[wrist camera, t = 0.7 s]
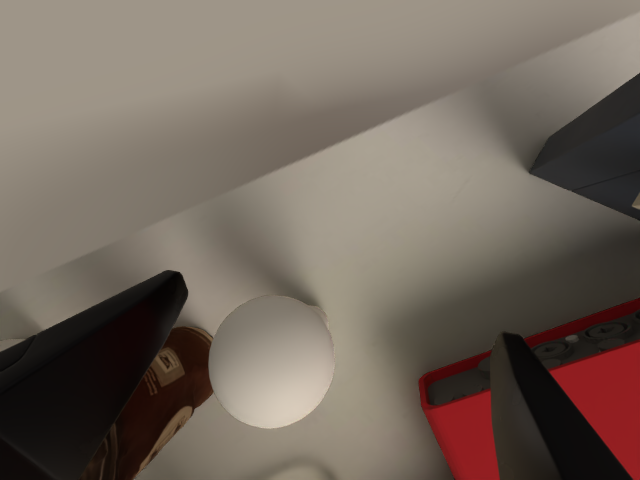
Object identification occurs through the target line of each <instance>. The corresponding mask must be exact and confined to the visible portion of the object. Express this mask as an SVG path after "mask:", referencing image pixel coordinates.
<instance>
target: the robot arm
mask: <svg viewBox="0 0 640 480" xmlns="http://www.w3.org/2000/svg"><path fill="white" fill-rule="evenodd" d="M187 297H188V289H187V287H186V284H185V281H184V279H183V276H182V274H181V273H180V272H177V271H172V270H166V271H164V272H162V273H160V274H158V275H156V276H154V277H152V278H150V279H148V280H146V281H144V282H142V283H139V284H137V285H135V286H133V287H131V288H129V289H127V290H125V291H123V292H121V293H119V294H117V295H115V296H113V297H111V298H109V299H107V300H105V301H103V302H101V303H99V304H97V305H95V306H93V307H91V308H89V309H87V310H85V311H83V312H81V313H79V314H76V315H74V316H72V317H70V318H68V319H66V320H64V321H62V322H60V323H58V324H56V325H54V326H52V327H50V328H48V329H46V330H44V331H42V332H40V333H38V334H37V335H34V336H32V337H30V338H28V339H26V340H24V341H22V342H20V343H18V344H15V345H13V346H11V347H9V348H7V349H5V350H3V351H1V352H0V480H79V479H80V477H81V476H82V474H83V472H84V471H85V469H86V468H87V466H88V464H89V463H90V461H91V460H92V458H93V456H94V455H95V453H96V452H97V450H98V448H99V447H100V445H101V444H102V442H103V440H104V439H105V437H106V436H107V434H108V432H109V431H110V429H111V428H112V426H113V424H114V423H115V421H116V420H117V418H118V417H119V415H120V413H121V412H122V410H123V409H124V407H125V405H126V404H127V402H128V401H129V399H130V397H131V396H132V394H133V393H134V391H135V389H136V388H137V386H138V385H139V383H140V381H141V380H142V378H143V377H144V375H145V373H146V372H147V370H148V369H149V367H150V366H151V364H152V362H153V361H154V359H155V358H156V356H157V354H158V353H159V351H160V350H161V348H162V346H163V345H164V343H165V341H166V339H167V337H168V336H169V334H170V332H171V330H172V328H173V326H174V324H175V322H176V320H177V318H178V316H179V314H180V312H181V310H182V308H183V306H184V304H185V302H186V300H187ZM490 383H491V419H492V429H493V436H494V443H495V450H496V457H497V464H498V471H499V478H500V480H633V478H632V477H631V476H630V474H629V473H628V472H627V471H626V469H625V468H624V467H623V465H622V464H621V463H620V462H619V460H618V459H617V458H616V457H615V455H614V454H613V453H612V451H611V450H610V449H609V448H608V446H607V445H606V444H605V442H604V441H603V440H602V439H601V437H600V436H599V435H598V433H597V432H596V431H595V430H594V428H593V427H592V426H591V425H590V423H589V422H588V421H587V419H586V418H585V417H584V416H583V414H582V413H581V412H580V410H579V409H578V408H577V407H576V405H575V404H574V403H573V402H572V400H571V399H570V398H569V396H568V395H567V394H566V393H565V391H564V390H563V389H562V387H561V386H560V385H559V384H558V382H557V381H556V380H555V379H554V377H553V376H552V375H551V373H550V372H549V371H548V370H547V368H546V367H545V366H544V364H543V363H542V362H541V361H540V359H539V358H538V357H537V356H536V354H535V353H534V352H533V350H532V349H531V348H530V347H529V345H528V344H527V343H526V341H525V340H524V339H523V338H522V337H521V336H520V335H519V334H515V333H510V332H504V331H503V332H500V334H499V335H498V337H497V340H496V342H495V344H494V346H493V349H492V351H491V355H490Z"/></svg>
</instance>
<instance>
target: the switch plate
mask: <svg viewBox="0 0 640 480" xmlns="http://www.w3.org/2000/svg"><path fill="white" fill-rule="evenodd" d="M529 173H530V174H532V175H534V176H537V177H539V178H542V179H544V180H546V181H549V182H551V183H553V184H556V185H558V186H560V187H563V188H565V189H567V190H572V192H575V193H577V194H579V195H582V196H584V197H586V198H589V199H591V200H593V201H596V202H598V203H600V204H603V205H605V206H607V207H610V208H612V209H614V210H617V211H619V212H622V213H624V214H626V215H629V216H631V217H633V218H636V219H638V220H640V209H637V208H635V207H633V206H632V204H633V203H634V201H635V199H636V198H637V196H638V194H639V193H640V73H639V74H638V75H636V76H635V77H633V78H632V79H630V80H629V81H628V82H626V83H625V84H623V85H622V86H621V87H619V88H618V89H616V90H615V91H614V92H612V93H611V94H609V95H608V96H607V97H605V98H604V99H602V100H601V101H600V102H598V103H597V104H595V105H594V106H592V107H591V108H590V109H588V110H587V111H585V112H584V113H583V114H581V115H580V116H578V117H577V118H576V119H574V120H573V121H571V122H570V123H569V124H567V125H566V126H564V127H563V128H562V129H560V130H559V131H557V132H556V133H554V134H553V135H552V136H550V137H549V138H548V140H547V142H546V143H545V145H544V147H543V149H542V150H541V152H540V154H539V156H538V157H537V159H536V161H535V163H534V164H533V166H532V168H531V170H530V171H529Z"/></svg>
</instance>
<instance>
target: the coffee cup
mask: <svg viewBox="0 0 640 480" xmlns="http://www.w3.org/2000/svg"><path fill="white" fill-rule="evenodd" d="M212 340H213V338H212V337H210V336H209V334H208V333H206V332H205V331H203V330H201V329H199V328H193V327H185V326H182V327H176V328H173V329H172V330H171V332H170V334H169V336H168V337H167V339H166V341H165V343H164V345H163V346H162V348H161V350H160V351H159V353H158V354H157V356H156V358H155V359H154V361H153V362H152V364H151V366H150V367H149V369H148V370H147V372H146V373H145V375H144V377H143V378H142V380H141V381H140V383H139V385H138V386H137V388H136V389H135V391H134V393H133V394H132V396H131V397H130V399H129V401H128V402H127V404H126V405H125V407H124V409H123V410H122V412H121V413H120V415H119V417H118V418H117V420H116V421H115V423H114V424H113V426H112V428H111V429H110V431H109V432H108V434H107V436H106V437H105V439H104V440H103V442H102V444H101V445H100V447H99V448H98V450H97V452H96V453H95V455H94V456H93V458H92V460H91V461H90V463H89V464H88V466H87V468H86V469H85V471H84V472H83V474H82V476H81V477H80V479H79V480H133V479H134V478H135V477H136V476H137V475H138V473H139V472H140V471H141V470H143V469H144V468H145V467H146V466H147V465H148V464H149V462H150V461H151V460H152V459H153V458H154V457H155V456H156V455H157V454H158V452H159V451H160V450H161V449H162V447H163V446H164V445H165V444H166V443H167V442H168V441H169V440H170V439H171V438H172V437H173V436H174V435H175V434H176V433H177V432H178V431H179V430H180V429H181V428H182V427H183V426H184V425H185V423H186V422H187V421H188V420H189V418H190V417H191V416H192V415H193V412H194V409H195V408H197V407H199V406H200V405H201V404H202V403H203V402H204V401H205V400H207V399H208V398H209V397H210V396H211V395H212V394H213V392H214V391H213V388H212V385H211V381H210V378H209V367H208V362H209V351H210V348H211V344H212Z"/></svg>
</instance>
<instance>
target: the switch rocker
mask: <svg viewBox="0 0 640 480" xmlns="http://www.w3.org/2000/svg"><path fill="white" fill-rule="evenodd" d="M632 206H633V207H635V208H637V209H640V193H639V194H638V196H637V198H636V199H635V201H634V203H633V204H632Z"/></svg>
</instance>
